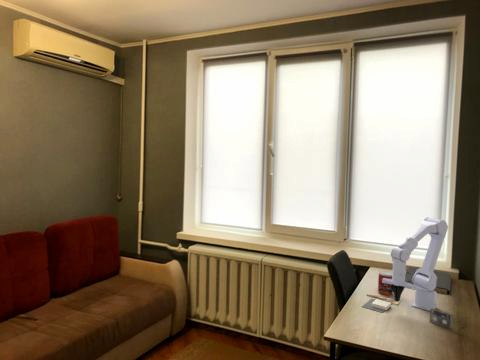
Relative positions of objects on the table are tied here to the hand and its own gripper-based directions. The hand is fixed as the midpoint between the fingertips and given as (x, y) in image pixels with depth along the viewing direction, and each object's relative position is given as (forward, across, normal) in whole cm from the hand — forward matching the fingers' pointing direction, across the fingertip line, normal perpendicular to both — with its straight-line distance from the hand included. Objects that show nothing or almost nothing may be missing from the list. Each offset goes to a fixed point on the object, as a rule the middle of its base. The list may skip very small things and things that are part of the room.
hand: (397, 300), depth 177 cm
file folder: (+6, +1, +58) cm, 58 cm away
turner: (+5, -9, +10) cm, 15 cm away
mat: (+5, -9, 0) cm, 11 cm away
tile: (+4, -4, 0) cm, 5 cm away
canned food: (+5, -12, +21) cm, 25 cm away
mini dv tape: (+5, +19, -2) cm, 20 cm away
